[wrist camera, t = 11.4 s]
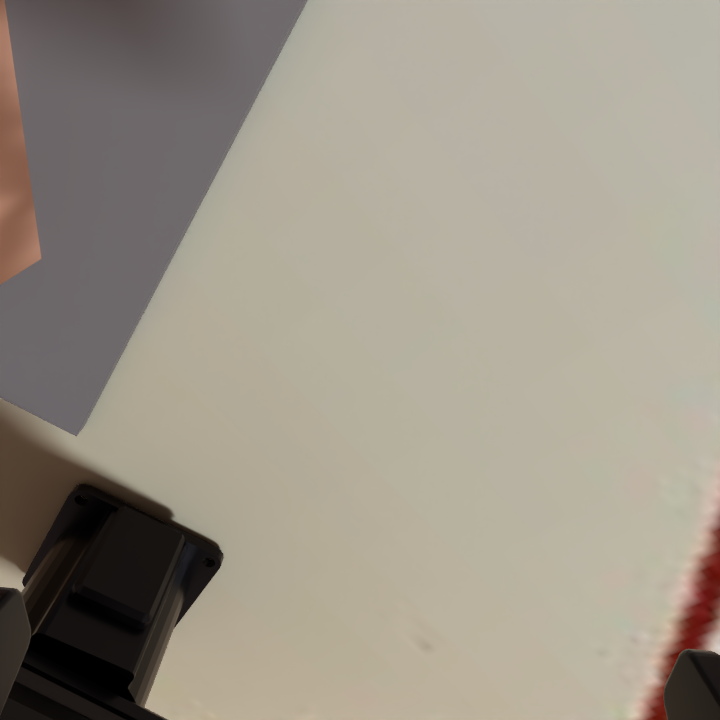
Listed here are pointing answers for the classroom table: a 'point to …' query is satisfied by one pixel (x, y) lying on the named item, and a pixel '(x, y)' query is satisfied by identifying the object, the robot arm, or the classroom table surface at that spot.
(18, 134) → the terracotta block
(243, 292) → the classroom table surface
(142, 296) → the charcoal mat
